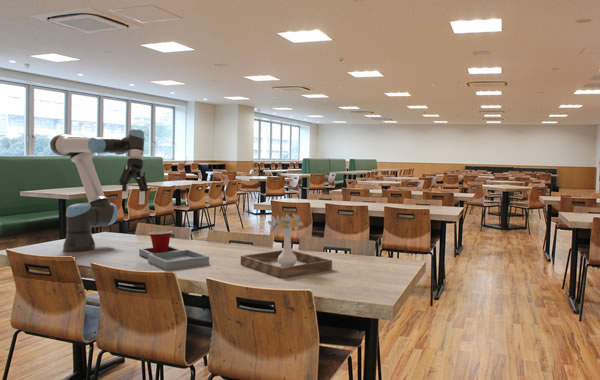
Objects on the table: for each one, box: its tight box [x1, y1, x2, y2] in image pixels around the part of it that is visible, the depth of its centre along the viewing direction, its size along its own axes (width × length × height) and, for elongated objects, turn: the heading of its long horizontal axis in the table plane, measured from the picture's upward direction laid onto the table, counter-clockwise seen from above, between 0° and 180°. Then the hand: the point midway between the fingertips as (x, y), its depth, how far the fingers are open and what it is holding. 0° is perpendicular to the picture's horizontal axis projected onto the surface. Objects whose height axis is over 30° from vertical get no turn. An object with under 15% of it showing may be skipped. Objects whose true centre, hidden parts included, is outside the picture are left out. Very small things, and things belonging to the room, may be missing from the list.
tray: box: [147, 249, 210, 271], centre depth 225 cm, size 20×20×4 cm
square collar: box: [138, 245, 181, 260], centre depth 241 cm, size 15×15×3 cm
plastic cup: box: [148, 230, 173, 253], centre depth 240 cm, size 11×11×12 cm
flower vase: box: [267, 213, 304, 268], centre depth 219 cm, size 12×18×24 cm
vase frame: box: [240, 249, 333, 279], centre depth 220 cm, size 31×27×4 cm
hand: (133, 201), depth 239 cm, fingers open, 13 cm apart
